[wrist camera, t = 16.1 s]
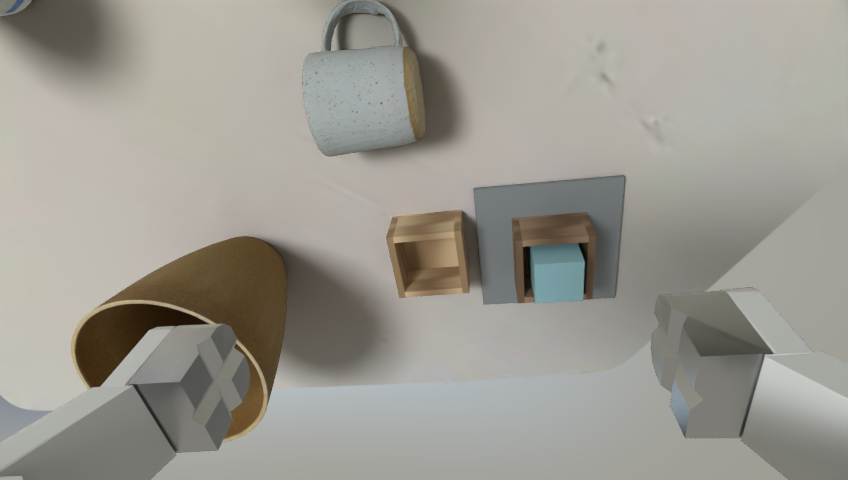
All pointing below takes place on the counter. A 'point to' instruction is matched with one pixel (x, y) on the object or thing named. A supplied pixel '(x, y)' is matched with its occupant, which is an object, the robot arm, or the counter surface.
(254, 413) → the plant pot
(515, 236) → the brown wooden square tray
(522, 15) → the counter surface
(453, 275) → the light wooden open box
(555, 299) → the light blue block
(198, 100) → the counter surface
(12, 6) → the supplement tub
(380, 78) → the ceramic mug
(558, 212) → the slate mat
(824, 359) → the robot arm
